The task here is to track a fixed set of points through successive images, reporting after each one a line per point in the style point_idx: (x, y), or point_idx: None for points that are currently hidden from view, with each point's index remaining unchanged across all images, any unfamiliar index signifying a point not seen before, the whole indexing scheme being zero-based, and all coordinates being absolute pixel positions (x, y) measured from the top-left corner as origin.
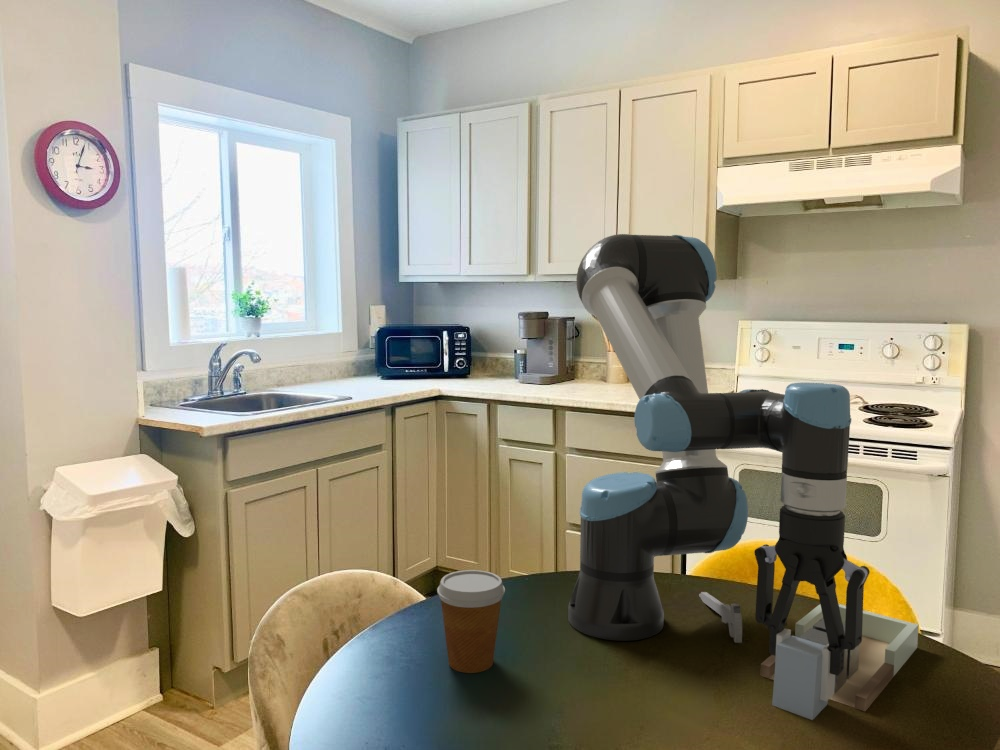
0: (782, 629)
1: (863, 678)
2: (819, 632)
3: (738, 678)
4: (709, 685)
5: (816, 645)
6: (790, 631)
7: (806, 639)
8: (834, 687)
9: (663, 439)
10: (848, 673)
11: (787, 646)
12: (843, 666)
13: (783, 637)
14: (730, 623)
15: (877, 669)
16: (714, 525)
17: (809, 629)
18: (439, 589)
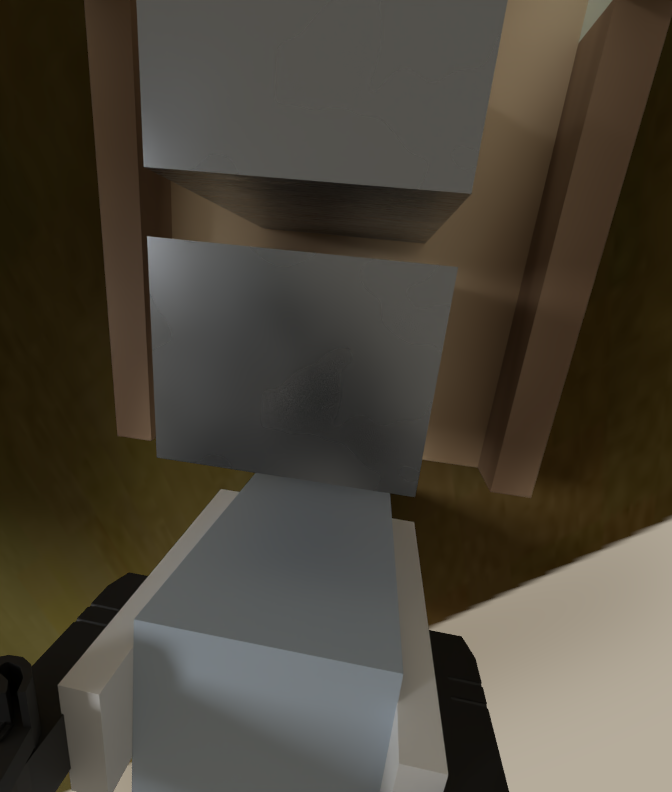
0: (58, 738)
1: (484, 186)
2: (233, 286)
3: (104, 433)
4: (71, 518)
5: (310, 702)
6: (106, 689)
7: (205, 461)
8: (416, 540)
9: None
10: (426, 239)
11: None
12: (477, 672)
13: (117, 767)
14: None
15: (544, 6)
16: None
17: (156, 277)
18: None
